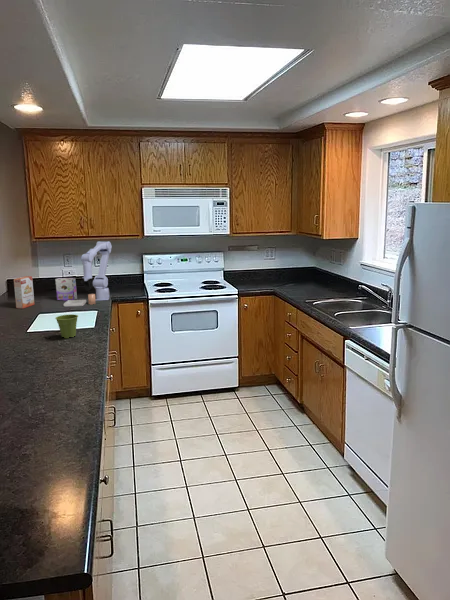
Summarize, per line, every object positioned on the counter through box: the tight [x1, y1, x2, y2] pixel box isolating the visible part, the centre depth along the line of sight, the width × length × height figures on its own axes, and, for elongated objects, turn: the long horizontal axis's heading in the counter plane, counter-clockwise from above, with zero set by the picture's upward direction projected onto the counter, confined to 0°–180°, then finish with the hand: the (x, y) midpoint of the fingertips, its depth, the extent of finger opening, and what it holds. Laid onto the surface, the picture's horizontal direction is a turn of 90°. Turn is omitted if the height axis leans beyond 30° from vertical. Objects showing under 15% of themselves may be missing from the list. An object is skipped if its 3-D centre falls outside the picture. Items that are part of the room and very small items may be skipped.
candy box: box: [54, 277, 78, 302], centre depth 367 cm, size 14×6×16 cm, turn 84°
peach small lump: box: [87, 293, 97, 306], centre depth 352 cm, size 5×5×7 cm
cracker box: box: [13, 275, 35, 310], centre depth 346 cm, size 14×6×21 cm, turn 168°
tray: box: [63, 299, 87, 307], centre depth 352 cm, size 13×13×2 cm
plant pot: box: [54, 314, 79, 339], centre depth 266 cm, size 12×12×11 cm
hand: (88, 289), depth 350 cm, fingers open, 7 cm apart
